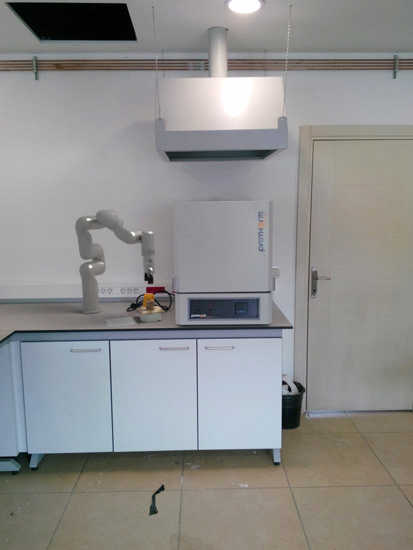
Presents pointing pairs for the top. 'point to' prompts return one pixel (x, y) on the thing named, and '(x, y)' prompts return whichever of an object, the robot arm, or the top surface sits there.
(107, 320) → the mat
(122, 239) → the robot arm
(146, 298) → the bracket
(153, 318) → the bowl
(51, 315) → the top surface
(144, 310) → the lid
